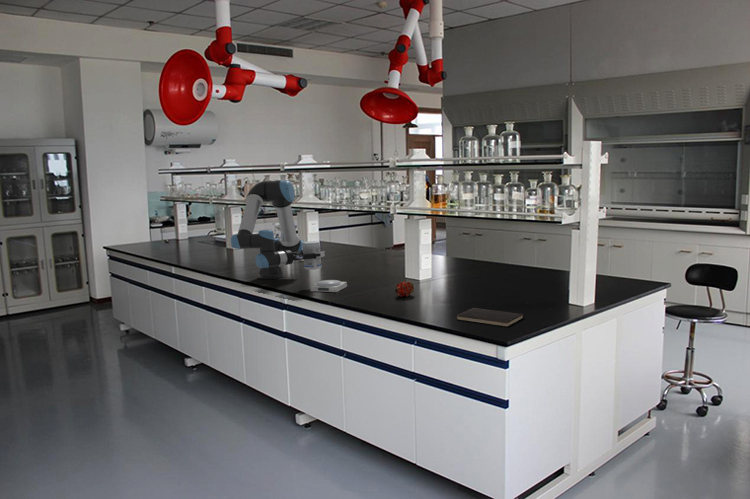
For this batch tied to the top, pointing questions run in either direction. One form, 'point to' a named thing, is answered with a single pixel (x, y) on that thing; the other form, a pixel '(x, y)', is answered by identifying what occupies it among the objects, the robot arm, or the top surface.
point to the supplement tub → (312, 248)
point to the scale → (329, 286)
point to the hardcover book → (490, 316)
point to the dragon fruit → (404, 289)
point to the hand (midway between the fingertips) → (318, 253)
